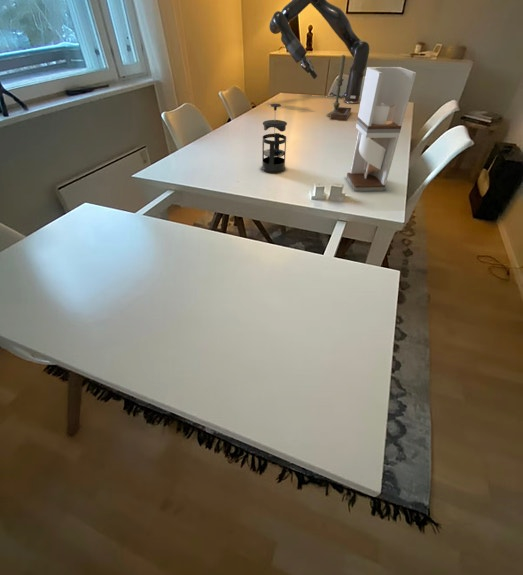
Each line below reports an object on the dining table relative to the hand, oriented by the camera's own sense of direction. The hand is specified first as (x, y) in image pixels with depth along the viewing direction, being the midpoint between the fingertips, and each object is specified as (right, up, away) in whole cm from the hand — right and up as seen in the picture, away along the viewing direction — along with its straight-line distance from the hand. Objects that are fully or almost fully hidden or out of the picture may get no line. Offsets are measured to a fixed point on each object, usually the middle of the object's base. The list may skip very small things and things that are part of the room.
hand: (315, 77), depth 182 cm
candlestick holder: (+13, -17, +9) cm, 23 cm away
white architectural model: (+7, -82, -64) cm, 105 cm away
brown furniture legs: (+16, -18, +8) cm, 25 cm away
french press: (-26, -72, -53) cm, 93 cm away
